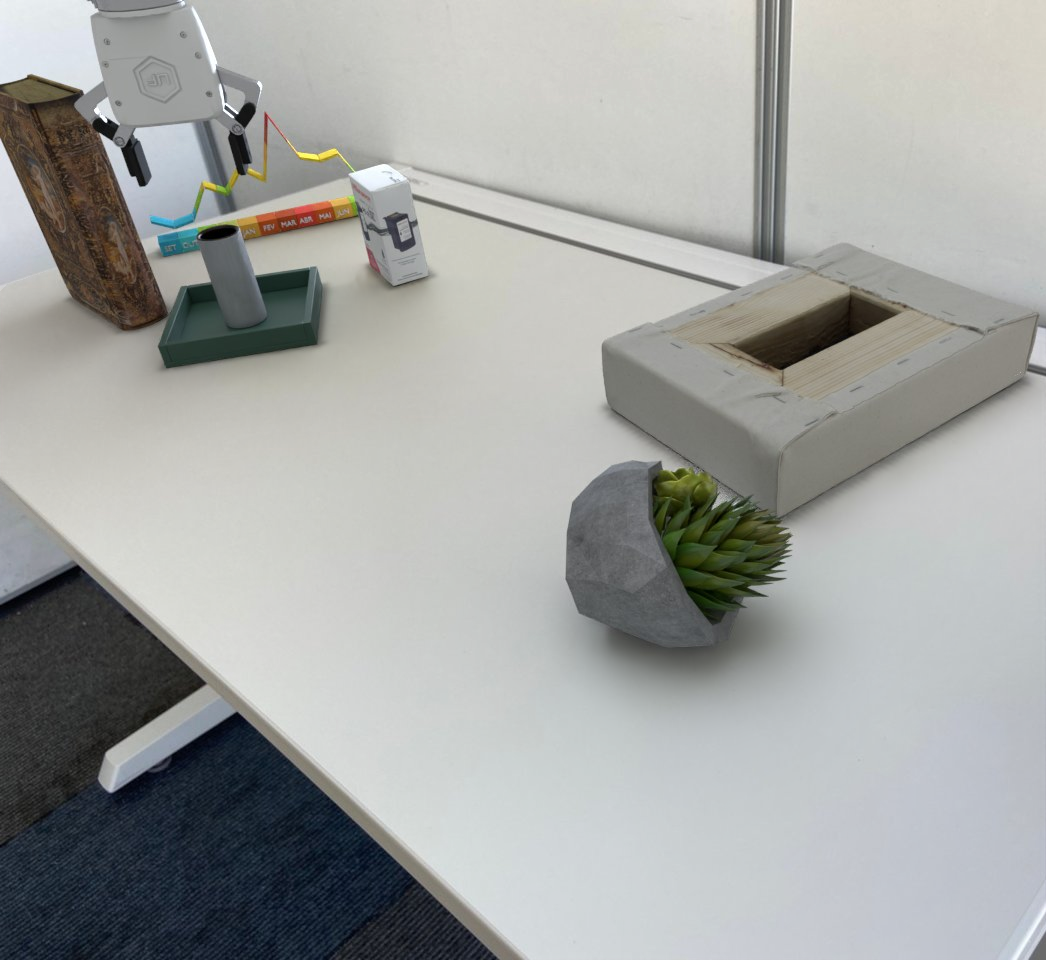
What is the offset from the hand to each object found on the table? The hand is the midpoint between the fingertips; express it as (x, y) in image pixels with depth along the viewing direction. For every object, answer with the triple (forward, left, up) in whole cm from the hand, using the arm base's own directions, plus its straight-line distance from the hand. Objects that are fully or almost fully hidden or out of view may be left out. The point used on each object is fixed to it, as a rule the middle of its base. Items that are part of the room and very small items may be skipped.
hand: (195, 177), depth 100 cm
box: (+54, -35, -17) cm, 67 cm away
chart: (+2, +30, -17) cm, 35 cm away
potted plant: (+35, -59, -17) cm, 71 cm away
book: (-16, +11, -17) cm, 26 cm away
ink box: (+17, +9, -17) cm, 26 cm away
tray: (0, 0, -17) cm, 17 cm away
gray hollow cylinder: (0, 0, -17) cm, 17 cm away
